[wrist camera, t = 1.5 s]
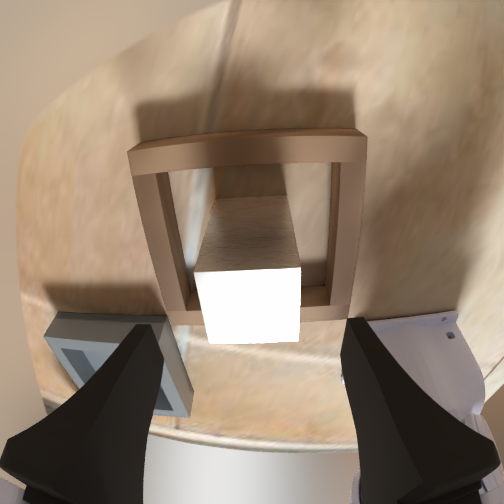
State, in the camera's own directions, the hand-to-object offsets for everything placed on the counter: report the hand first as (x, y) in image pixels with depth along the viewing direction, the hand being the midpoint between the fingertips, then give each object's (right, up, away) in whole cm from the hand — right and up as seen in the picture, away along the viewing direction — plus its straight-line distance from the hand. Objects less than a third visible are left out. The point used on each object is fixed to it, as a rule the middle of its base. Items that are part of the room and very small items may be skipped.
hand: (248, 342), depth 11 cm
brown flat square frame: (0, +5, +7) cm, 9 cm away
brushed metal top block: (0, +5, +7) cm, 9 cm away
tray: (-11, -6, +14) cm, 19 cm away
